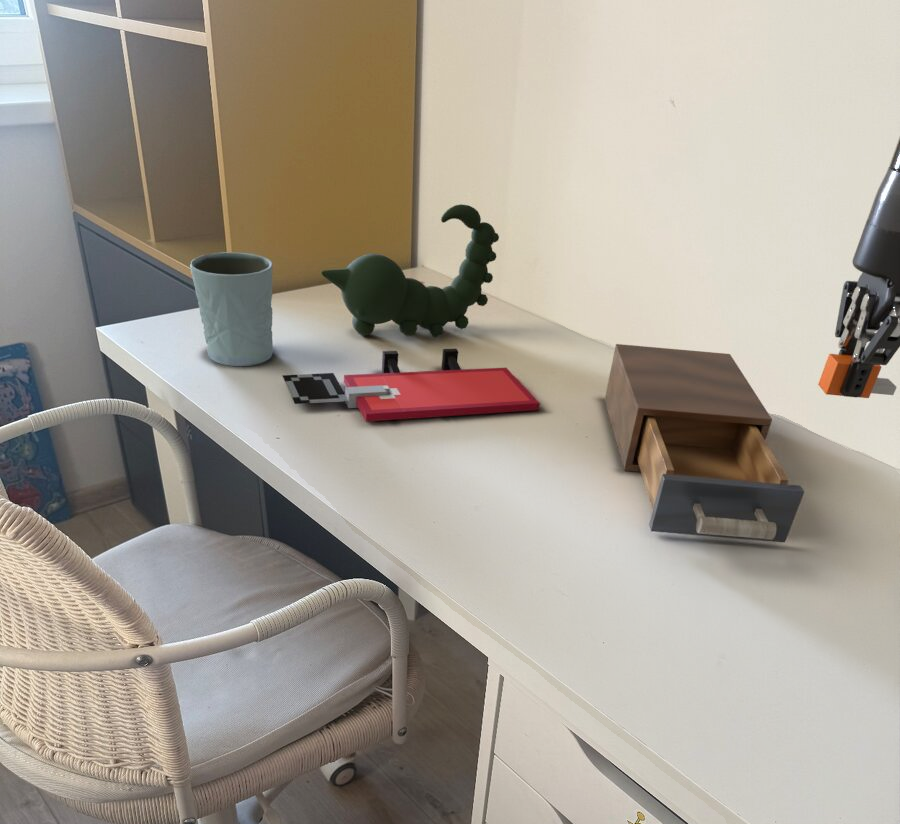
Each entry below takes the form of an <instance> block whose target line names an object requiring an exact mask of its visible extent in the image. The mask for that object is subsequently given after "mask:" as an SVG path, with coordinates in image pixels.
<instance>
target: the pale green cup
mask: <svg viewBox="0 0 900 824" xmlns="http://www.w3.org/2000/svg"><path fill="white" fill-rule="evenodd" d="M273 266H274V265H273V262H272V261H271V260H270V259H268V257H265V256H262V255H260V254H255V253H249V252H237V251H236V252H235V251H226V252H225V251H223V252H213V253H208V254H203V255H200V256H197V257H195V258H193V259H192V260H191V261H190V264H189V268H190V273H191V276H192V281H193V286H194V290H195V296H196V299H197V301H198V302H197V305H198V306H199V316H200V320H201V323H202V324H203V335H204V340H205V343H206V350H207V354H208V357H209V359H210V360H211V361H213V362H215V363H218V364H221V365H224V366H229V367H230V366H232V367H250V366H256V365H259V364H263V363H265V362H267V361H269V360H270V359H271V358H272V356H273V344H274V343H273V331H272V326H273V307H272V300H273V274H274V273H273V272H274V271H273V269H274V268H273Z"/></svg>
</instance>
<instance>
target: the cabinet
mask: <svg viewBox="0 0 900 824" xmlns="http://www.w3.org/2000/svg"><path fill="white" fill-rule="evenodd" d="M613 351H614V352H613V357H612V362H611V367H610V372H609V375H608V382H607V387H606V391H605V396H604V402H605V405H606V410H607V413H608V418H609V421H610V423H611V428H612V432H613V435H614V438H615V443H616V445H617V450H618V453H619V457H620V461H621V464H622V467H623V471H627V472H639V473H641V470H640V467H639V464H638V461H637V457H636V454H635V451H636V447H637V443H638V438H639V434H640V430H641V425H642V421H643V417H644V415H649V416H661V417H672V418H684V419H696V420H707V421H719V422H730V423H742V424H753V425H756V426H757V428H758V430H759V431H760V433H761V435H762V436H763V438H764V440H765V441H766V440H767V438H768V437H767V436H768V433H769V430H770V428H771V424H772V421H773V418H772V416H771V415H770V414H769V412H768V411H767V409H766V407H765V406H764V405H763V403H762V401H761V400H760V398H759V396H758V395H757V394H756V392H755V390H754V389H753V387H752V386H751V384H750V383H749V381H748V380H747V378H746V376H745V375H744V374H743V372H742V370H741V369H740V367H739V366H738V364H737V362H736V361H735V359H734V358H733V356H732V355H731V354H730V353H724V352H712V351H700V350H692V349H691V350H690V349H689V350H688V349H678V348H669V347H668V348H666V347H655V346H646V345H645V346H643V345H632V344H622V343H621V344H620V343H616V344H615V346H614V350H613Z"/></svg>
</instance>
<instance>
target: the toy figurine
mask: <svg viewBox="0 0 900 824" xmlns="http://www.w3.org/2000/svg"><path fill="white" fill-rule="evenodd" d="M450 220H458V221H460V222H461V223H463V224H464V226H466V227H467V228H468V229H471V230H472V231H471V235H470V237H471V238H470V239H471V240H470V241H469V242H468V243H467V244H466V247H465V259H463V260H462V261H461V263H460V265H459V270H458V275H456V276H455V277H454V278H453V280H452V282H451V284H450V285H448V286H444V287H442V288H441V287H438V286H435V285H428V286H426V285H425V284H423V282H422V281H420V280H418V279H415V278H413V277H406V274H405V273H404V271H403V270H402V268H401V267H400V266H399V264H398V263H397V262H396V261H395V260H392V259H391V258H389V257H388V256H386V255H383V254H380V253H366V254H363V255H361V256H359V257H357V258H355V259H354V260H352V261H351V262H350V263H349V264H348V266H347V267H344V268H334V269H325V270H322V271H321V272H320V273H321V276H322V277H324V278H325V279H326V280H328V281H329V282H330V283H332V284H333V286H336V287H337V288H338V289H339V290H340V292H341V297H342V301H343V303H344V306H345V307H346V309H347V310H348V312H349V313H350V314H351V315H352V316H353V317H352V319H351V322H352V323H351V324H352V327H353V329H354V330H355V331H356V332H357V334H359V335H361V336H369V335H371V334H372V333H373V332H374V329H375V327H376V325H381V324H386V323H388V322H391V321H392V322H393V323H394V324H396V325H398V326H399V331H400V332H401V333H402V334H403V335H405V336H406V337H409V336H414V334H415V333H416V332H417V331H418V326H419V327H420V328H422V329H425V330H428V331H429V333H430V335H431V337H435V338H439V337H440V336H442V335H443V331H444V328H443V327H445V325H447V324H448V323H454V325H455V327H457V329H460V330H463V329H466V328H467V327H468V325H469V318H468V316H466V313H467V311H468V308H469V307H471V306H473V305H474V304H477V306H480V307H485V306H486V305H487V304H488V300H489V298H488V296H487V294H485V293H482V285H484V283H485V284H491V282H493V278H494V276H493V274H492V273H491V272H489V269H488V266H487V265H488V264H490V263H492V262H494V261H496V259H497V253H496V252H495V251H493V245H494V243H496V242H498V241H499V239H500V236H499V234H498V233H497V232H496V230H495V228H494V227H493V225H491V223H489V222H486V221H485V222H484V221H482V218H481V215H480V213H479V211H478V210H477V209H476V208H475V207H473V206H471V205H468V204H455V205H453V206H451V207H449V208H448V209H446V210H445V211H444V213H443V214H442V216H441V217H440V221H441V223H446V222H448V221H450ZM481 221H482V222H481Z"/></svg>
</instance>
